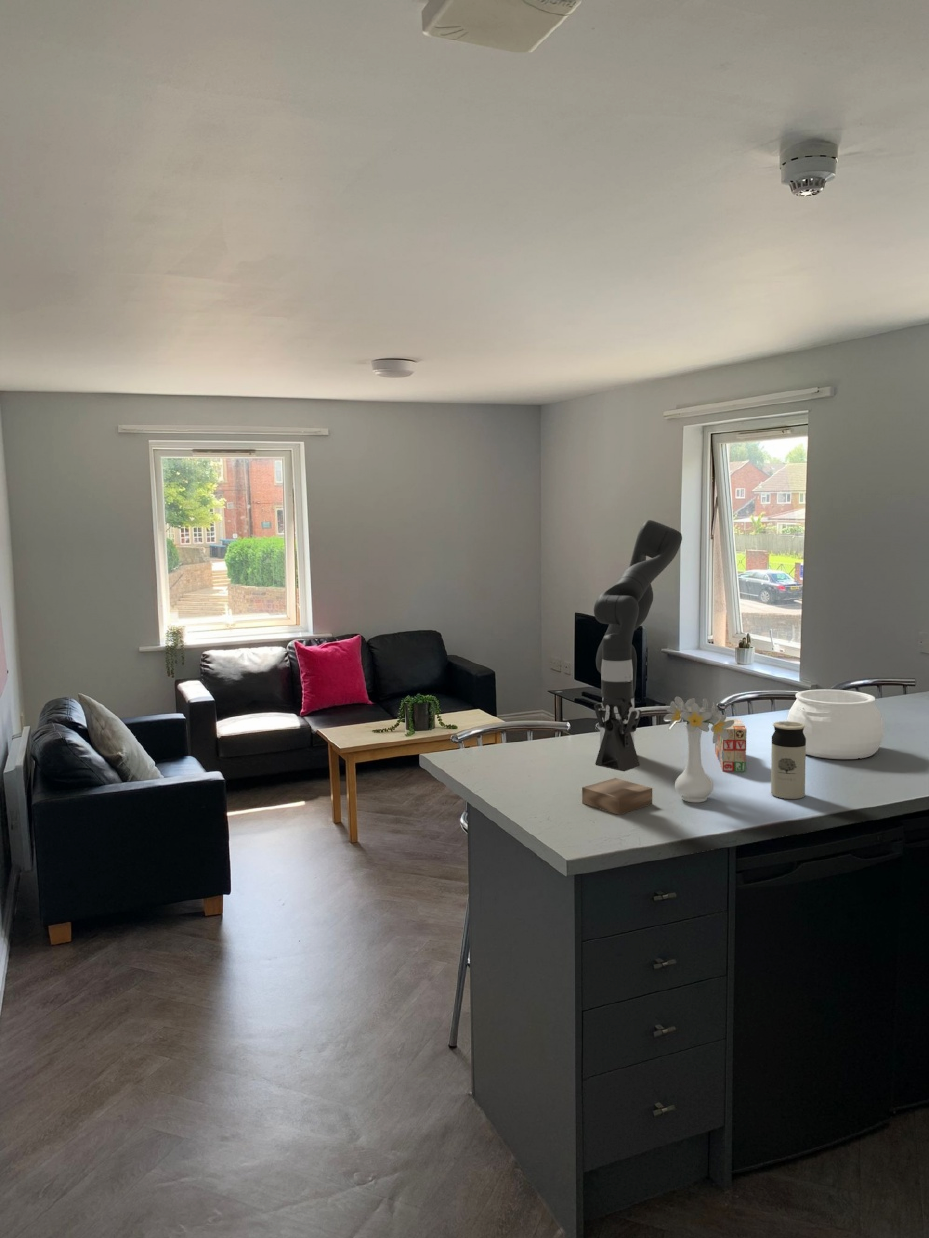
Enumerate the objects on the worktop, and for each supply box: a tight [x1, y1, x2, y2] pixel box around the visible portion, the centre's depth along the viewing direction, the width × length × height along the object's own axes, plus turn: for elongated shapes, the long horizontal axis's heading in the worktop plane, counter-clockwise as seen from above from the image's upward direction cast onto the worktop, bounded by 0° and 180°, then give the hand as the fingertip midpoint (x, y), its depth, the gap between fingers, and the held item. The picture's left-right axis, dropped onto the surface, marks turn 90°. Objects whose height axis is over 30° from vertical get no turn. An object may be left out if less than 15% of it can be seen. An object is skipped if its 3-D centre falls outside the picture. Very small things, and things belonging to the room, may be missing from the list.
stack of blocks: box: [714, 718, 748, 773], centre depth 258 cm, size 21×6×12 cm, turn 170°
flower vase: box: [663, 696, 734, 804], centre depth 223 cm, size 13×18×25 cm
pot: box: [786, 688, 885, 760], centre depth 267 cm, size 29×26×16 cm
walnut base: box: [581, 777, 653, 816], centre depth 222 cm, size 12×12×4 cm
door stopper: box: [594, 718, 641, 772], centre depth 221 cm, size 9×6×12 cm, turn 43°
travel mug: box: [770, 720, 807, 800], centre depth 225 cm, size 8×8×18 cm
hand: (617, 747), depth 221 cm, fingers closed on door stopper, 3 cm apart
